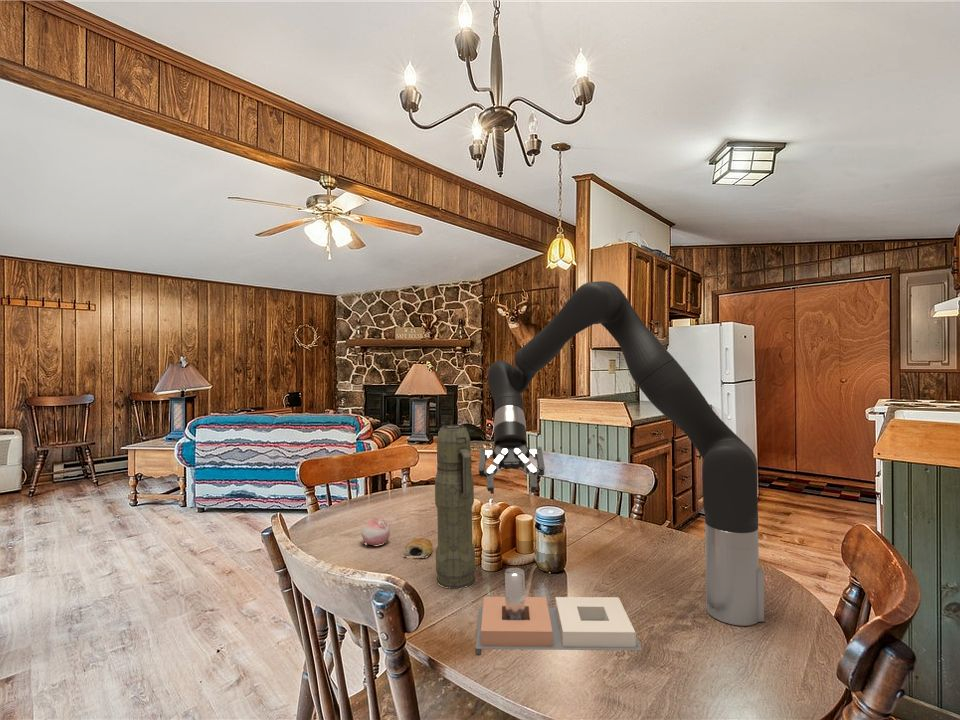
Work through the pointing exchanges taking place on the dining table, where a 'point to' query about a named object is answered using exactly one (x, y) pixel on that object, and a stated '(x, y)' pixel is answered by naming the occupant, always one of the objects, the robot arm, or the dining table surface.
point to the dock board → (557, 625)
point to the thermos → (454, 508)
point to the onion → (376, 531)
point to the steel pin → (515, 594)
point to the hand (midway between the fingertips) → (512, 491)
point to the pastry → (419, 548)
